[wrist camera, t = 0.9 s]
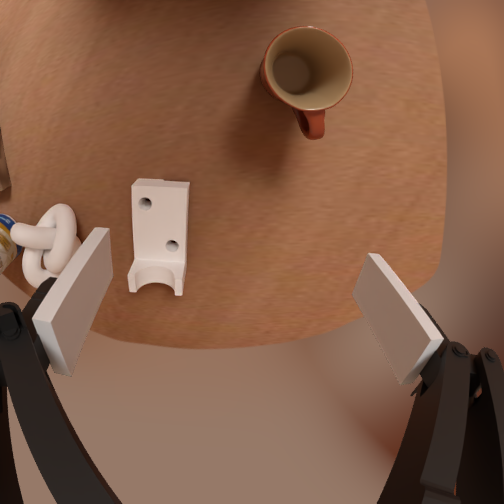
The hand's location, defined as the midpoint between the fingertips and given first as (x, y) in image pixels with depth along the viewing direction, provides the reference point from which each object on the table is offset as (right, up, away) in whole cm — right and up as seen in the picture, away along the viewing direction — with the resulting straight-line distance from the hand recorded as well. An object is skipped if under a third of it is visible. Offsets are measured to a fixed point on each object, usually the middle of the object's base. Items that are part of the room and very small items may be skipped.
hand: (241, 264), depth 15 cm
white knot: (-29, +3, +25) cm, 38 cm away
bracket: (-12, +5, +27) cm, 29 cm away
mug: (+5, +21, +19) cm, 29 cm away
